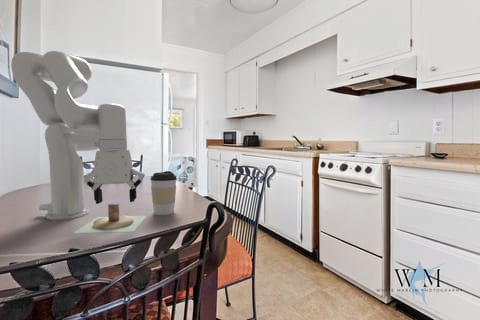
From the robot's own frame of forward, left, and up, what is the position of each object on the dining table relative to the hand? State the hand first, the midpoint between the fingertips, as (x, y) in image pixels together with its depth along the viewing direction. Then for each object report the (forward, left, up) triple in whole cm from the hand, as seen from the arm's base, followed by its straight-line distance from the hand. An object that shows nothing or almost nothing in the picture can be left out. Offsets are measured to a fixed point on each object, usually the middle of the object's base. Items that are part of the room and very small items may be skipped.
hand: (115, 202), depth 79 cm
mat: (-1, +1, -7) cm, 7 cm away
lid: (-1, +1, -7) cm, 7 cm away
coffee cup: (+12, +13, -7) cm, 19 cm away
